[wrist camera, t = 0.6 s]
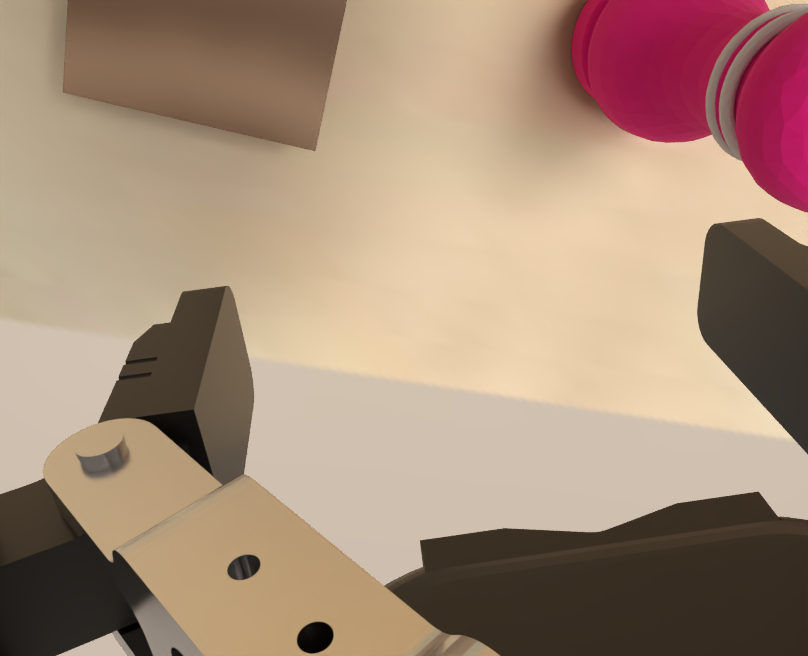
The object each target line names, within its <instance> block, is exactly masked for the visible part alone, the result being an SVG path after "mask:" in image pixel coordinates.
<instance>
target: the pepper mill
mask: <svg viewBox="0 0 808 656" xmlns="http://www.w3.org/2000/svg"><path fill="white" fill-rule="evenodd" d="M571 49H572V62H573V66H574V70H575V73H576V76H577V78H578V80H579V82H580V84H581V85H582V87H583V88H584V89H585V91H586V92H587V93H588V94H589V95H590V96H591V97H593V98H594V99H595V100H596V101H597V102H598V104H599V106H600V107H601V109H602V111H603V112H604V113H605V114H606V115H607V117H608V118H609V119H610V120H611V121H612V122H613V123H615V124H616V125H617V126H618V127H620V128H621V129H623V130H625V131H627V132H629V133H631V134H633V135H636V136H639V137H642V138H645V139H648V140H651V141H657V142H666V143H669V142H687V141H694V140H697V139H700V138H704V137H707V136H709V135H713V137H714V139H715V140H716V142H717V143H718V144H719V145H720V147H721V148H722V149H723V150H724V151H725V152H726V153H728V154H730V155H731V156H733V157H735V158H736V159H738V160H741V161H743V163H744V164H745V166H746V168H747V169H748V171H749V172H750V174H751V175H752V177H753V179H754V180H755V182H756V183H757V185H759V186H760V187H761V188H762V189H763V190H765V191H766V192H767V193H768V194H770V195H771V196H773V197H774V198H775V199H777V200H778V201H780V202H782V203H784V204H787V205H789V206H791V207H793V208H796V209H799V210H801V211H804V212H808V4H791V5H786V6H782V7H778V8H775V9H773V10H769V8H768V6H767V4H766V2H765V0H588V1H587V2H586V4H585V5H584V7H583V9H582V11H581V13H580V15H579V17H578V19H577V22H576V25H575V29H574V32H573V38H572V48H571Z"/></svg>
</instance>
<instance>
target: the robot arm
mask: <svg viewBox="0 0 808 656" xmlns="http://www.w3.org/2000/svg"><path fill="white" fill-rule="evenodd" d="M697 316H698V323H699V328H700V331H701V334H702V336H703V339H704V340H705V342H706V343H707V345H708V346H709V347H710V348H711V349H712V350H713V351H714V352H715V353H716V354H717V356H718V357H719V358H720V359H721V360H722V361H723V362H724V363H725V364H726V365H727V366H728V368H729V369H730V370H731V371H732V372H733V373H734V374H735V375H736V376H737V377H738V378H739V380H740V381H741V382H742V383H743V384H744V385H745V386H746V387H747V388H748V389H749V390H750V392H751V393H752V394H753V395H754V396H755V397H756V398H757V399H758V400H759V401H760V402H761V404H762V405H763V406H764V407H765V408H766V409H767V410H768V411H769V412H770V413H771V415H772V416H773V417H774V418H775V419H776V420H777V421H778V422H779V423H780V424H781V425H782V427H783V428H784V429H785V430H786V431H787V432H788V433H789V434H790V435H791V436H792V437H793V439H794V440H795V441H796V442H797V443H798V444H799V445H800V446H801V447H802V448H803V449H804V450H805V452H806V453H807V454H808V246H805V245H802V244H799V243H798V242H796V241H795V240H793V239H792V238H790V237H789V236H787V235H786V234H784V233H783V232H782V231H780V230H779V229H777V228H776V227H774V226H773V225H771V224H770V223H768V222H767V221H765V220H763V219H761V218H756V219H749V220H741V221H733V222H725V223H718V224H714V225H712V226H711V227H710V229H709V230H708V233H707V235H706V240H705V247H704V256H703V264H702V273H701V282H700V291H699V299H698V309H697ZM253 403H254V388H253V379H252V372H251V367H250V363H249V358H248V354H247V350H246V346H245V341H244V337H243V333H242V329H241V325H240V320H239V316H238V312H237V308H236V303H235V299H234V296H233V293H232V291H231V289H230V287H229V286H223V287H215V288H207V289H200V290H192V291H184V292H182V294H181V296H180V299H179V302H178V304H177V307H176V310H175V312H174V315H173V318H172V320H171V323H164V324H156V325H153V326H152V327H151V328H150V329H149V330H147V331H146V332H145V333H144V334H143V335H142V336H141V337H140V338H138V339H137V340H136V341H135V342H134V343H133V346H132V348H131V350H130V352H129V354H128V357H127V359H126V365H124V366H123V368H122V370H121V372H120V375H119V380H118V381H116V384H115V386H114V388H113V390H112V393H111V395H110V397H109V400H108V402H107V404H106V406H105V408H104V411H103V413H102V415H101V417H100V420H99V422H98V424H95V425H92V426H89V427H87V428H85V429H83V430H80V431H79V432H77V433H75V434H73V435H71V436H70V437H68V438H67V439H65V440H64V441H63V442H62V443H60V444H59V445H58V446H57V447H56V448H55V449H54V450H53V451H52V452H51V453H50V455H49V456H48V458H47V459H46V462H45V464H44V468H43V475H44V479H42V480H39V481H37V482H34V483H32V484H29V485H26V486H24V487H21V488H18V489H15V490H12V491H9V492H6V493H3V494H0V656H56V655H59V654H61V653H64V652H66V651H68V650H71V649H73V648H76V647H78V646H80V645H83V644H85V643H88V642H90V641H92V640H95V639H97V638H100V637H102V636H105V635H107V634H109V633H113V635H114V637H115V638H116V640H117V641H118V643H119V644H120V646H121V647H122V648H123V650H124V651H125V653H126V654H127V655H128V656H808V520H804V519H796V518H789V517H778V516H777V515H776V514H775V513H774V511H773V510H772V509H771V507H770V506H769V505H768V504H767V502H766V501H765V499H764V498H763V497H762V496H761V494H760V493H759V492H753V493H746V494H739V495H732V496H725V497H719V498H711V499H705V500H697V501H690V502H683V503H677V504H674V505H672V506H669V507H666V508H663V509H661V510H658V511H655V512H653V513H650V514H648V515H645V516H642V517H640V518H637V519H634V520H632V521H629V522H627V523H624V524H621V525H619V526H616V527H613V528H610V529H608V530H605V531H601V532H590V533H589V532H569V531H548V530H527V529H526V530H525V529H507V528H503V529H497V530H490V531H483V532H476V533H469V534H462V535H456V536H448V537H442V538H434V539H427V540H420V544H421V552H422V561H423V567H422V568H420V569H417V570H414V571H412V572H409V573H407V574H405V575H403V576H401V577H399V578H398V579H395V580H393V581H391V582H390V583H388V584H386V585H385V586H383V585H382V584H381V583H380V582H379V581H377V580H376V579H375V578H374V577H372V576H371V575H370V574H369V573H368V572H366V571H365V570H364V569H363V568H361V567H360V566H359V565H358V564H357V563H355V562H354V561H353V560H352V559H350V558H349V557H348V556H347V555H345V554H344V553H343V552H342V551H341V550H339V549H338V548H337V547H336V546H335V545H333V544H332V543H331V542H329V541H328V540H327V539H326V538H325V537H323V536H322V535H321V534H320V533H318V532H317V531H316V530H315V529H314V528H313V527H311V526H310V525H309V524H308V523H306V522H305V521H304V520H303V519H302V518H300V517H299V516H298V515H297V514H295V513H294V512H293V511H292V510H291V509H289V508H288V507H287V506H286V505H284V504H283V503H282V502H281V501H280V500H278V499H277V498H276V497H275V496H273V495H272V494H271V493H270V492H269V491H267V490H266V489H265V488H264V487H262V486H261V485H260V484H259V483H258V482H256V481H255V480H254V479H252V478H251V477H249V476H247V475H244V469H245V461H246V455H247V447H248V441H249V433H250V426H251V419H252V411H253Z"/></svg>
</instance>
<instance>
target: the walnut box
mask: <svg viewBox="0 0 808 656" xmlns="http://www.w3.org/2000/svg"><path fill="white" fill-rule="evenodd" d="M346 2H347V0H68V10H67V29H66V47H65V65H64V84H63V93H67V94H72V95H76V96H80V97H85V98H89V99H93V100H98V101H102V102H106V103H110V104H115V105H119V106H123V107H128V108H132V109H136V110H141V111H145V112H149V113H154V114H158V115H162V116H167V117H171V118H175V119H179V120H184V121H188V122H192V123H197V124H201V125H205V126H210V127H214V128H218V129H223V130H227V131H231V132H235V133H240V134H244V135H248V136H253V137H257V138H261V139H266V140H270V141H274V142H279V143H283V144H287V145H291V146H296V147H300V148H304V149H309V150H313V151H315V149H316V145H317V140H318V135H319V130H320V126H321V121H322V116H323V111H324V106H325V102H326V97H327V92H328V87H329V83H330V78H331V73H332V68H333V64H334V59H335V54H336V49H337V44H338V40H339V35H340V30H341V25H342V21H343V16H344V11H345V6H346Z"/></svg>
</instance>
